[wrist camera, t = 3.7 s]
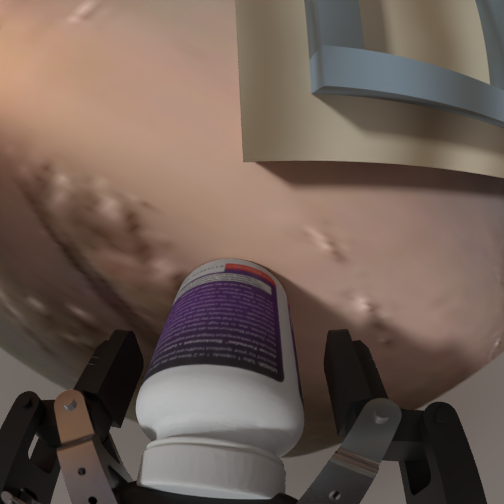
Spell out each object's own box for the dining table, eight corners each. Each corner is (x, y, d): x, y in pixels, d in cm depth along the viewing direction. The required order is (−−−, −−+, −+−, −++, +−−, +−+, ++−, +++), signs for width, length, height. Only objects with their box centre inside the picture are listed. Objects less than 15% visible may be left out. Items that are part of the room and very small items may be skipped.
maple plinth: (245, 156, 11) (239, 171, 7) (233, -93, 5) (227, -138, 2) (504, 174, 11) (554, 194, 7) (475, -38, 5) (512, -54, 1)
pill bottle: (157, 292, 14) (75, 470, 5) (244, 232, 12) (218, 458, 4) (224, 358, 16) (205, 524, 7) (308, 315, 14) (344, 505, 5)
